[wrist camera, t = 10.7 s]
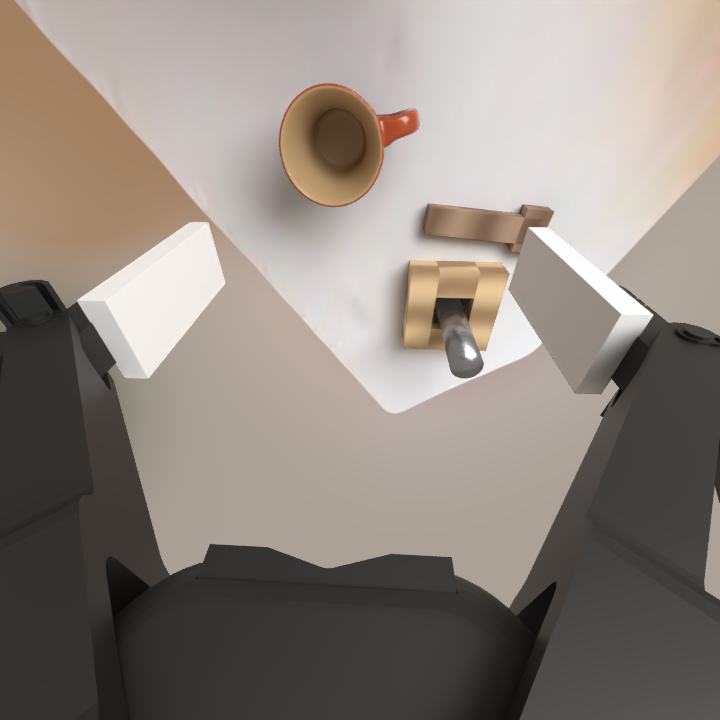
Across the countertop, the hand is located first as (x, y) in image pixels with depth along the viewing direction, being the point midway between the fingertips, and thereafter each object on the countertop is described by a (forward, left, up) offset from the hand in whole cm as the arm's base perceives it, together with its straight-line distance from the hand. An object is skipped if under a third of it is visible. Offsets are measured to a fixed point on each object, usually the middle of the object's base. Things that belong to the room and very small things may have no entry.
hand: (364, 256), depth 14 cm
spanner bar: (+7, +13, -29) cm, 32 cm away
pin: (+18, +11, -29) cm, 36 cm away
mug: (-2, -2, -29) cm, 29 cm away
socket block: (+18, +11, -29) cm, 36 cm away
